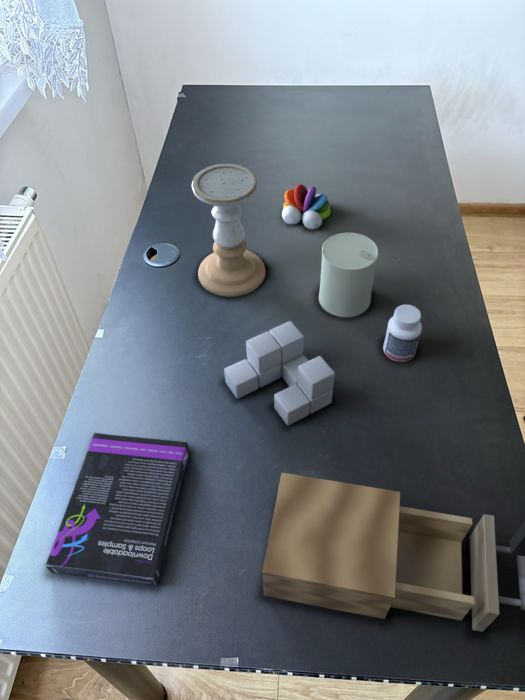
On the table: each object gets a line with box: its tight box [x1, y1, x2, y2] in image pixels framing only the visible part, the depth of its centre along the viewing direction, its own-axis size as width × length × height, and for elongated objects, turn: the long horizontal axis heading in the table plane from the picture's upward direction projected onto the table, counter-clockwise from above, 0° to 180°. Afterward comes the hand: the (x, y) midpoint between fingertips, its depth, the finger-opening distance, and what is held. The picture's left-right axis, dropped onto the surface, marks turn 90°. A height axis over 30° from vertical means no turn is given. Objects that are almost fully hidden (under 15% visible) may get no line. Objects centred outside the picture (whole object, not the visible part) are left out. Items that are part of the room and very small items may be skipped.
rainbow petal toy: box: [281, 183, 331, 230], centre depth 117 cm, size 8×10×7 cm
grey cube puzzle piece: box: [223, 320, 336, 426], centre depth 89 cm, size 12×12×8 cm
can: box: [318, 232, 379, 318], centre depth 100 cm, size 9×9×12 cm
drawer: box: [390, 505, 525, 633], centre depth 71 cm, size 18×11×7 cm, turn 79°
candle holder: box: [191, 163, 266, 298], centre depth 102 cm, size 12×12×20 cm
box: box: [45, 432, 190, 587], centre depth 79 cm, size 14×4×20 cm
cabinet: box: [262, 472, 401, 620], centre depth 73 cm, size 15×13×9 cm
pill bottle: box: [382, 304, 423, 363], centre depth 94 cm, size 5×5×9 cm
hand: (523, 549), depth 64 cm, fingers closed
